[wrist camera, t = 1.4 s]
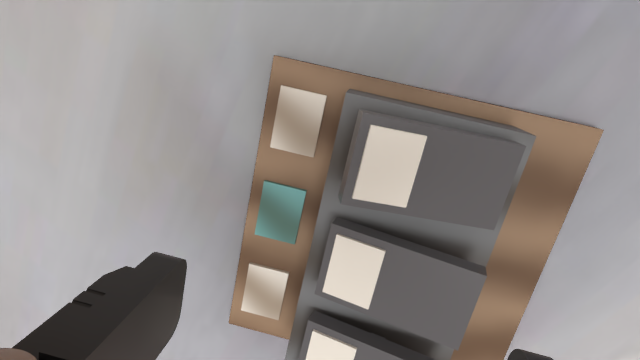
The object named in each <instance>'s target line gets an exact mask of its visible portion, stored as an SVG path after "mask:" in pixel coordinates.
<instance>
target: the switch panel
mask: <svg viewBox="0 0 640 360" xmlns="http://www.w3.org/2000/svg"><path fill="white" fill-rule="evenodd" d="M359 109H362V110H367V111H371V112H376V113H381V114H386V115H391V116H396V117H401V118H405V119H410V120H415V121H420V122H425V123H430V124H434V125H439V126H444V127H449V128H454V129H459V130H464V131H468V132H473V133H478V134H483V135H488V136H493V137H497V138H502V139H507V140H512V141H515V142H518V143H520V144H522V145H525V146H526V148H525V151H524V153H523V156H522V159H521V161H520V164H519V166H518V169H517V172H516V174H515V177H514V180H513V182H512V185H511V187H510V190H509V193H508V195H507V198H506V201H505V203H504V206H503V208H502V211H501V214H500V216H499V219H498V222H497V224H496V227H495V229H494V230H489V229H483V228H477V227H471V226H466V225H460V224H454V223H448V222H442V221H436V220H430V219H425V218H419V217H413V216H407V215H401V214H395V213H389V212H383V211H378V210H372V209H366V208H360V207H354V206H348V205H342V204H340V201H339V198H338V194H339V190H340V186H341V182H342V178H343V173H344V169H345V165H346V161H347V157H348V153H349V149H350V144H351V140H352V136H353V132H354V128H355V124H356V120H357V115H358V111H359ZM603 131H604V130H602V129H598V128H595V127H590V126H586V125H582V124H577V123H573V122H568V121H564V120H559V119H555V118H551V117H546V116H542V115H537V114H533V113H528V112H524V111H520V110H515V109H511V108H506V107H502V106H497V105H493V104H489V103H484V102H480V101H475V100H471V99H466V98H462V97H458V96H453V95H449V94H444V93H440V92H435V91H431V90H427V89H422V88H418V87H413V86H409V85H404V84H400V83H396V82H391V81H387V80H382V79H378V78H373V77H369V76H365V75H360V74H356V73H351V72H347V71H342V70H338V69H334V68H329V67H325V66H320V65H316V64H311V63H307V62H303V61H298V60H294V59H289V58H285V57H280V56H274V58H273V64H272V70H271V76H270V82H269V87H268V93H267V99H266V105H265V111H264V117H263V123H262V129H261V135H260V141H259V147H258V153H257V158H256V164H255V170H254V176H253V182H252V188H251V194H250V200H249V206H248V212H247V218H246V224H245V229H244V235H243V241H242V247H241V253H240V259H239V265H238V271H237V277H236V283H235V289H234V295H233V300H232V306H231V312H230V318H229V323H230V324H233V325H237V326H241V327H244V328H248V329H252V330H256V331H259V332H263V333H267V334H270V335H274V336H278V337H282V338H285V339H289V344H288V348H287V353H286V357H285V360H299V356H300V352H301V347H302V343H303V339H304V335H305V331H306V327H307V323H308V319H309V318H310V316H311V315H312V313H313V312H314V310H315V311H317V312H320V313H322V314H325V315H327V316H330V317H332V318H335V319H337V320H340V321H342V322H344V323H347V324H349V325H352V326H354V327H357V328H359V329H362V330H364V331H367V332H369V333H371V332H372V333H374V334H377V335H379V336H382V337H384V338H386V340H389V341H391V342H394V343H396V344H399V345H401V346H403V347H406V348H408V349H411V350H413V351H416V352H418V353H421V354H423V355H426V356H428V357H430V358H433V359H435V360H503V359H504V357H505V355H506V352H507V350H508V348H509V346H510V343H511V341H512V339H513V336H514V334H515V332H516V330H517V327H518V325H519V323H520V320H521V318H522V316H523V314H524V311H525V309H526V307H527V304H528V302H529V300H530V298H531V295H532V293H533V291H534V288H535V286H536V284H537V282H538V279H539V277H540V275H541V272H542V270H543V268H544V266H545V263H546V261H547V259H548V256H549V254H550V252H551V250H552V247H553V245H554V243H555V240H556V238H557V236H558V234H559V231H560V229H561V227H562V224H563V222H564V220H565V218H566V215H567V213H568V211H569V208H570V206H571V204H572V202H573V199H574V197H575V195H576V192H577V190H578V188H579V186H580V183H581V181H582V179H583V176H584V174H585V172H586V170H587V167H588V165H589V163H590V160H591V158H592V156H593V154H594V151H595V149H596V147H597V144H598V142H599V140H600V138H601V135H602V133H603ZM337 217H339V218H342V219H345V220H348V221H351V222H354V223H357V224H360V225H363V226H366V227H369V228H372V229H374V230H377V231H380V232H383V233H386V234H389V235H392V236H395V237H398V238H401V239H404V240H407V241H410V242H413V243H416V244H419V245H422V246H425V247H428V248H431V249H434V250H437V251H440V252H443V253H446V254H449V255H452V256H455V257H458V258H461V259H464V260H467V261H470V262H473V263H476V264H479V265H482V266H485V267H486V273H487V278H486V280H485V283H484V285H483V288H482V290H481V293H480V296H479V298H478V301H477V303H476V306H475V308H474V311H473V313H472V316H471V319H470V321H469V324H468V326H467V329H466V331H465V334H464V336H463V339H462V342H461V344H460V347H459V349H458V351H457V350H455V349H452V348H450V347H447V346H445V345H442V344H440V343H437V342H435V341H432V340H430V339H427V338H424V337H422V336H419V335H417V334H414V333H412V332H409V331H407V330H404V329H402V328H399V327H397V326H394V325H392V324H389V323H387V322H384V321H381V320H379V319H376V318H374V317H371V316H369V315H366V314H364V313H361V312H359V311H356V310H354V309H351V308H349V307H346V306H344V305H341V304H338V303H336V302H333V301H331V300H328V299H326V298H323V297H321V296H318V295H316V294H315V290H316V285H317V281H318V277H319V273H320V269H321V265H322V261H323V256H324V252H325V248H326V244H327V240H328V236H329V232H330V228H331V223H332V222H333V221H334V220H335V219H336V218H337Z"/></svg>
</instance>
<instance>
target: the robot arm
mask: <svg viewBox="0 0 640 360" xmlns="http://www.w3.org/2000/svg"><path fill="white" fill-rule="evenodd" d="M186 270H187V263H186V260H184V259H181V258H177V257H173V256H169V255H166V254H162V253H158V252H154V253H152V254H151V255H150V256H148V257H147V258H146V259H145V260H144V261H143V262H141V263H140V264H139V265H138V266H137V267H136V268H131V267H128V266H125V267H123V268H120V269H118V270H115V271H113V272H110V273H108V274H105V275H103V276H102V277H101V278H100V279H98V280H97V281H96V282H95V283H93V284H92V285H91V286H89V287H88V288H87V291H83V292H82V293H81V294H79V295H78V296H77V297H76V298H74V299H73V301H72V303H70V302H69V303H68V304H67V305H66V306H64V307H63V308H62V309H60V310H59V311H58V312H57V313H55V314H54V315H53V316H52V317H50V318H49V319H48V320H47V321H45V322H44V323H43V324H42V325H40V326H39V327H38V328H37V329H35V330H34V331H33V332H31V333H30V334H29V335H28V336H26V337H25V338H24V339H23V340H21V341H20V342H19V343H18V344H16V345H15V346H14V347H13V348H0V360H155V359H156V358H157V357H158V355H159V354H160V353H161V351H162V350H163V348H164V347H165V346H166V344H167V343H168V342H169V340H170V339H171V337H172V335H173V333H174V331H175V329H176V327H177V324H178V321H179V318H180V313H181V307H182V299H183V292H184V284H185V277H186ZM507 360H553V359H552V358H550V357H547V356H543V355H539V354H536V353H532V352H528V351H524V350H520V349H515V350H513V351H512V352H511V353H510V355H509V357H508V359H507Z"/></svg>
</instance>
